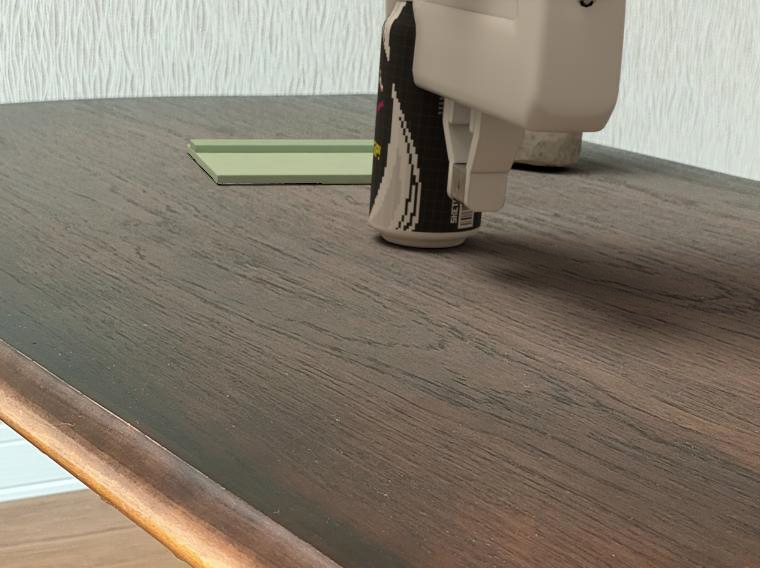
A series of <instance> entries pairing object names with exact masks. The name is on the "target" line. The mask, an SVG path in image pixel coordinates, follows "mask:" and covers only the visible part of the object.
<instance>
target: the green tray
mask: <svg viewBox="0 0 760 568" xmlns="http://www.w3.org/2000/svg"><path fill="white" fill-rule="evenodd" d="M373 149H374V139H252V138H251V139H249V138H248V139H243V138H242V139H240V138H239V139H235V138H234V139H228V138H227V139H224V138H223V139H222V138H221V139H219V138H218V139H216V138H215V139H213V138H212V139H204V138H203V139H202V138H201V139H198V138H197V139H193V138H192V139H189V143H187V144H186V153H187V152H188V153H189V154H190V155H191V156H192V157H193V158H194V159H195V160H196V161H197V163H198V164H199V165H200V166H201V167H202V168H203V169H204V170H205V171H206V172H207V173H208V174H209V175H210V176H211V177H212V178H213V179H214V180H213V179H212V178H211V177H210V176H209V175H208V174H207V173H206V172H205V171H204V170H203V169H202V168H201V167H200V166H199V165H198V164H197V163H196V164H197V165H198V166H199V167H200V168H201V169H202V170H203V171H204V172H205V173H206V174H207V175H208V176H209V177H210V178H211V179H212V180H213V182H215V181H216V182H215V183H216V184H217V183H317V184H316V185H319V184H318V183H322V184H321V185H371V178H372V164H373ZM188 153H187V154H188ZM189 154H188V155H189ZM190 155H189V156H190ZM191 156H190V157H191ZM192 157H191V158H192ZM193 158H192V159H193Z"/></svg>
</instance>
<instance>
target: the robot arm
mask: <svg viewBox="0 0 760 568" xmlns="http://www.w3.org/2000/svg"><path fill="white" fill-rule="evenodd" d="M384 3H385V5H384V6H385V7H384V12H385V15H384V16H385V17H384V18H385V19H384V21H385V20H386V18H387V17H388V16H389V15H390V13H391V12H392V10H393V9H394V7H395V5H396V3H397V0H385V1H384ZM626 5H627V0H413V11H414V18H415V23H416V40H415V50H414V60H413V69H412V71H413V77H414V83H415V84H416V85H417V86H418V87H420V88H422V89H425V90H427V91H430V92H432V93H435V94H437V95H440V96H442V97H445V99H444V110H443V127H444V133H445V140H446V146H447V153H448V159H449V161H450V162H449V174H448V185H447V193H448V196H449V197H450V198H451V199H452V200H454V201H456V202H458V203H460V204H462V205H463V206H465V207H466V208H468V209H470V210H471V211H473V212H482V213H497V212H499V211H500V210H501V209H502V208H503V207H504V205H505V203H506V194H507V186H508V176H509V173H510V171H511V170H512V166H513V165H514V164H513V162H514V160H515V157H516V155H517V153H518V151H519V148H520V146H521V144H522V141H523V139H524V136H525V130H528V131H533V132H558V133H576V132H583V133H596V132H597V133H598V132H600V131H603V130H604V129H605V127H606V125H607V124H608V123H609V120H610V119H611V116H612V115H613V112H614V111H615V108H616V105H617V103H618V98H619V93H620V85H621V74H622V63H623V50H624V38H625V23H626V7H627V6H626Z"/></svg>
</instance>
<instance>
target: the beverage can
mask: <svg viewBox="0 0 760 568" xmlns="http://www.w3.org/2000/svg"><path fill="white" fill-rule="evenodd" d="M380 35H381V37H380V48H379V50H380V51H379V64H378V78H377V94H376V107H375V121H374V136H373V137H374V138H373V140H374V149H373V164H372V178H371V184H370V192H369V193H370V194H369V208H368V225H369V226H370V228H372V229H373V230H374V231H376V232H377V233H380V235H381V237H382V238H383V239H384V240H385V241H387V242H388V243H391V244H395V245H400V246H405V247H411V248H422V249H423V248H424V249H440V248H442V249H443V248H452V247H456V246H459V245H461V244H463V243H464V242H465V241H466V239H467V238H471V237H473V236H474V235H476V234H477V233H479V232H480V229H481V225H482V214H483V212H473V211H471V210H470V209H468V208H466V207H465V206H463V205H462V204H460V203H458V202H456V201H454V200H452V199H451V198H450V197H449V196H448V193H447V185H448V174H449V162H450V161H449V159H448V153H447V146H446V140H445V133H444V127H443V110H444V99H445V97H442V96H440V95H437V94H435V93H432V92H430V91H427V90H425V89H422V88H420V87H418V86H417V85H416V84H415V83H414V77H413V71H412V69H413V60H414V50H415V40H416V23H415V18H414V11H413V0H397V3H396V5H395V7H394V9H393V10H392V12H391V13H390V15H389V16H388V17H387V18H386V20H385V19H384V21H383V24H382V26H381V34H380Z"/></svg>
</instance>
